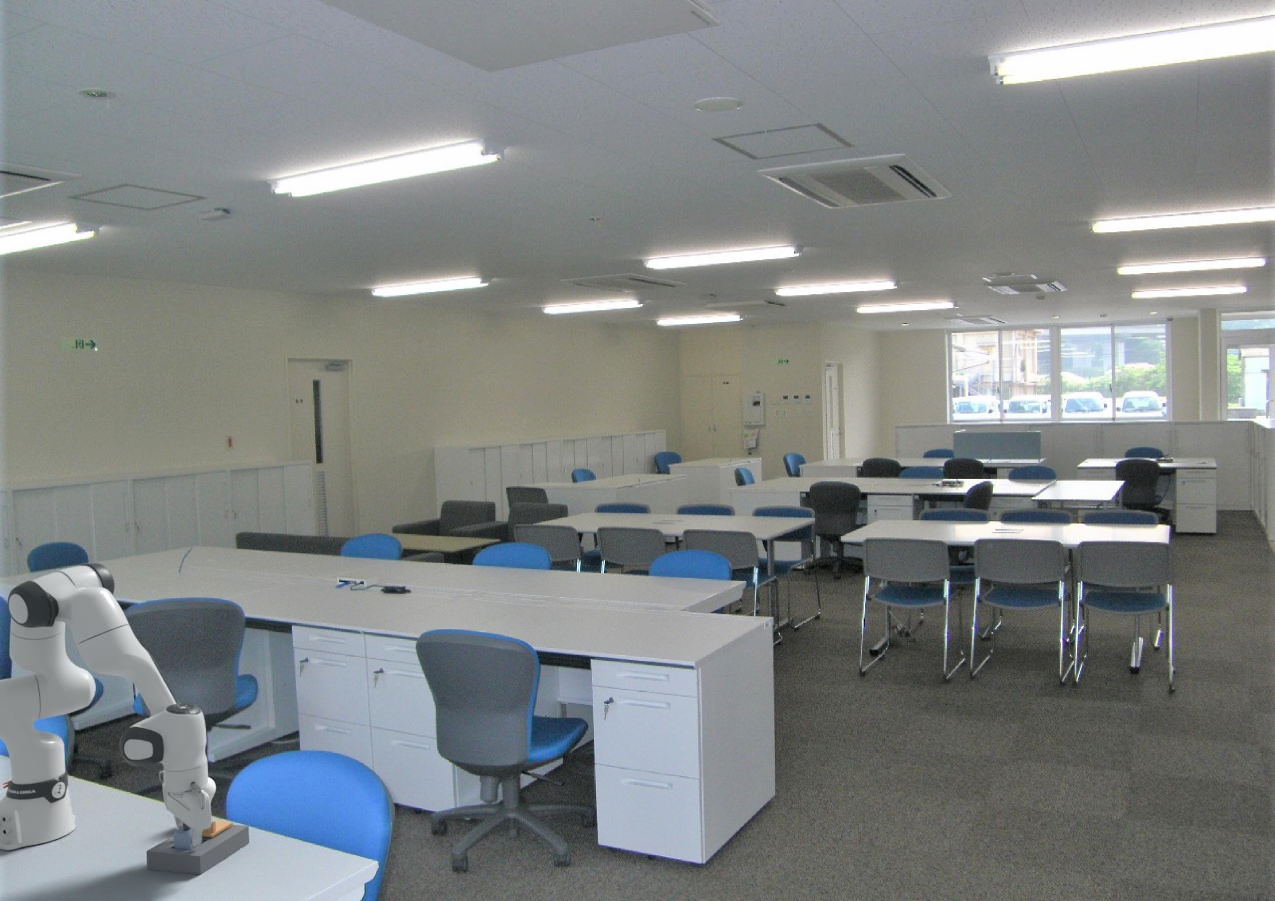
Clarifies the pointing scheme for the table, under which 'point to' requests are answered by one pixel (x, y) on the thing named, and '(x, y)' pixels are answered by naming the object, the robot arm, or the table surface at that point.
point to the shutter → (216, 828)
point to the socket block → (198, 852)
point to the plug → (183, 838)
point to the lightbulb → (210, 788)
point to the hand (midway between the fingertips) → (189, 838)
